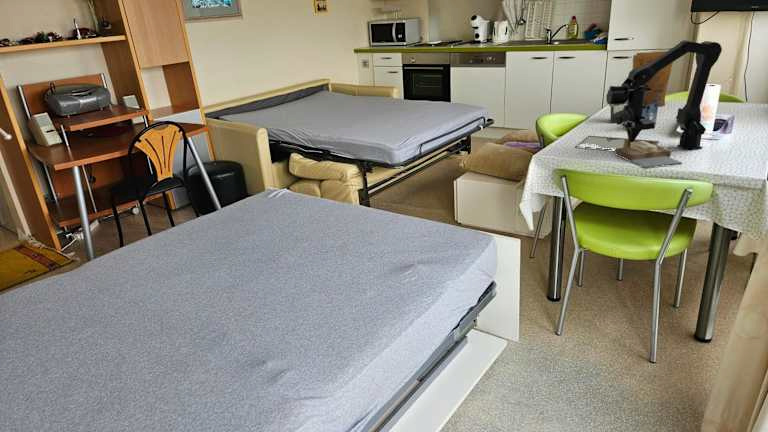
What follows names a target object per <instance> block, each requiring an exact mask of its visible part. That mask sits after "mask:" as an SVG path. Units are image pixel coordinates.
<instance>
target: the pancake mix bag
mask: <svg viewBox="0 0 768 432" xmlns="http://www.w3.org/2000/svg"><path fill="white" fill-rule="evenodd" d="M667 51H668V50H667ZM667 51H666V50H665V51H651V52H636V54H633V56H632V69H631V70H633V69H635V68H637V67H639V66H641V65H645V64H648V63H650V62H652V61H653V60H655V59H656V58H658V57H659V56H661V55H662V54H664V53H665V52H667ZM673 64H674V62H672V63H671V64H669V65H667V66H666V67H664V68H663V69H661V70H660V71H658V72H657V73H656V74H655V76H654V77H653V78H652V79H651V80H650V81H649V82H648V83H646V84H648V86H649V87H650V88H651V89H652V90H651V91H645V98H644V105H647V104H651V103H658V107H665V106H666V93H667V90H668V84H669V80H670V78H671V73H672V68H673Z"/></svg>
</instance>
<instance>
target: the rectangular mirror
mask: <svg viewBox="0 0 768 432" xmlns="http://www.w3.org/2000/svg"><path fill="white" fill-rule="evenodd" d="M637 141H644V142H647V143H649V144H655V145H658V144H659V143H660V141H659V140H649V139H637V138H636V139H635V140H634V142H637ZM586 143H587V144H588V143H589V144H590V145H591V144H594V145H595V144H596V146H597V145H598V146H599V147H601V148H596V149H602V148H607V149H604V150H612V149H611V148H614V149H615V148H625V147H630V142H629V139H628V138H625V137H624V138H623V137H612V136H611V137H610V136H598V135H588V136H587V137H585V138H584V139H583V140H581V142H579V143H578V144H577V145H576V146H575V148H576V147H577V146H578V145H580V144H586ZM589 144H588V145H589ZM578 147H580V146H578ZM585 148H591V147H585ZM608 148H610V149H608ZM604 150H603V151H604ZM615 151H616V149H615ZM615 151H614V152H615Z"/></svg>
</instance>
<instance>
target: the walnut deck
mask: <svg viewBox="0 0 768 432" xmlns="http://www.w3.org/2000/svg"><path fill="white" fill-rule="evenodd" d="M652 145H655V144H652ZM655 146H657V152H650V153H643V152H640V151H638V150H635V149H633V148H631V147H625V148H616V152H615V154H617V155H619V156H621V157H624V158H626V159H628V160H630V161H631V160H636V159H644V158H652V157H661V156H667V157H669V158H671V153H672V150H671V149H668V148H666V147H663V146H660V145H658V144H657V145H655ZM617 155H616V156H617ZM619 156H618V157H619ZM621 157H620V158H621ZM624 158H623V159H624ZM626 159H625V160H626ZM628 160H627V161H628ZM630 161H629V162H630Z"/></svg>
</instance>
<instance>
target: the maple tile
mask: <svg viewBox="0 0 768 432" xmlns="http://www.w3.org/2000/svg"><path fill="white" fill-rule="evenodd" d="M630 147H631V148H633V149H635V150H638V151H640V152H643V153H650V152H657V146H655V145H652V144H649V143H647V142H644V141H637V142H631V143H630Z"/></svg>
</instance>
